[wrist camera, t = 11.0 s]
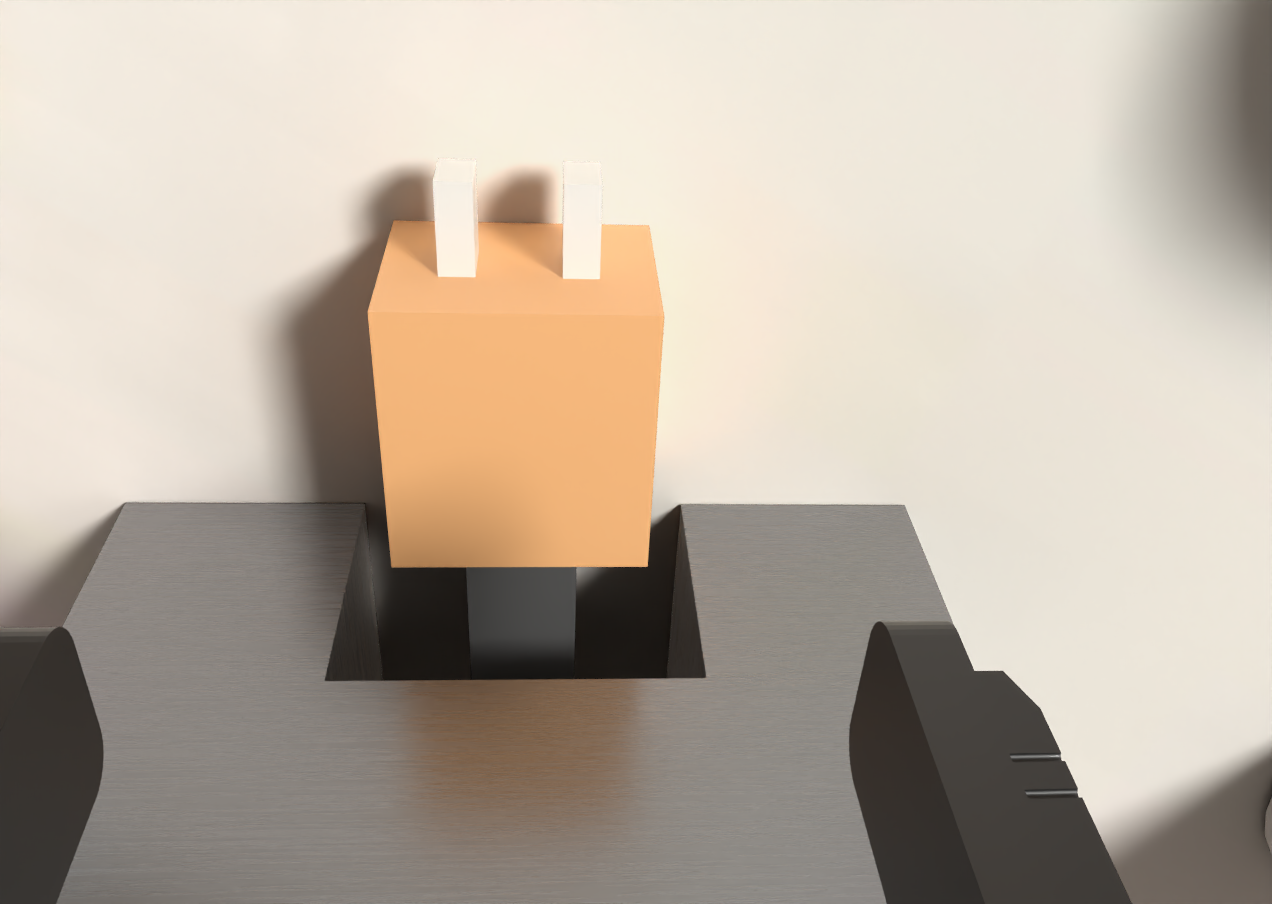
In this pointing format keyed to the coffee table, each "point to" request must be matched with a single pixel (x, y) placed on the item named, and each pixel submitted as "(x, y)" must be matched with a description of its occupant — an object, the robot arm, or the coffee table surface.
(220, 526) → the bridge-shaped block
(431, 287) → the plug
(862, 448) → the coffee table surface
